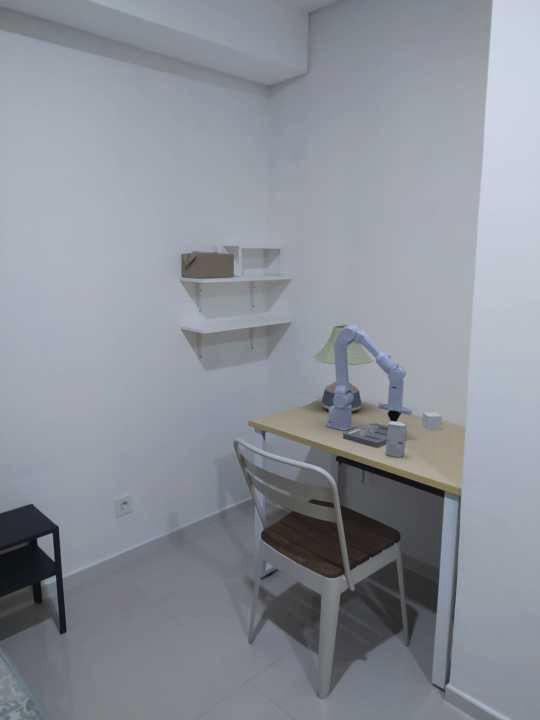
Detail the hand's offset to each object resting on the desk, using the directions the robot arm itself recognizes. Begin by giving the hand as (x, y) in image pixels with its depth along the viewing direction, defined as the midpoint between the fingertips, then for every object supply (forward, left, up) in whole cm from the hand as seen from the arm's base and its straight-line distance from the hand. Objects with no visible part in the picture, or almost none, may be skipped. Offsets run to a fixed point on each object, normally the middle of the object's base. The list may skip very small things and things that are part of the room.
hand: (393, 428), depth 227 cm
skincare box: (+13, -20, -3) cm, 24 cm away
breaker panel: (-4, -7, -3) cm, 9 cm away
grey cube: (+6, +22, -3) cm, 23 cm away
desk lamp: (-39, +18, -3) cm, 43 cm away
